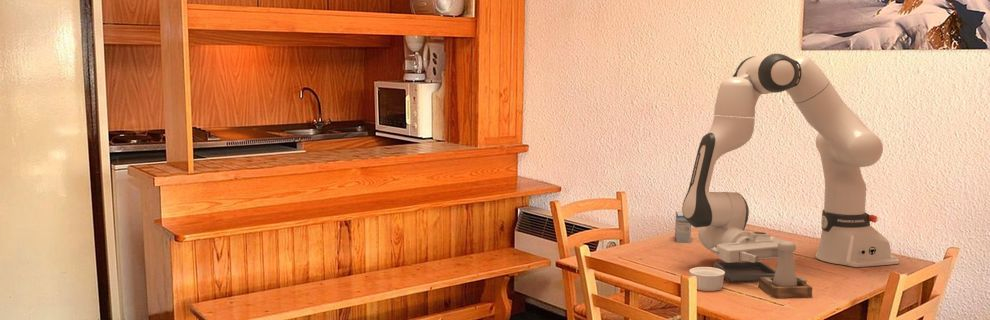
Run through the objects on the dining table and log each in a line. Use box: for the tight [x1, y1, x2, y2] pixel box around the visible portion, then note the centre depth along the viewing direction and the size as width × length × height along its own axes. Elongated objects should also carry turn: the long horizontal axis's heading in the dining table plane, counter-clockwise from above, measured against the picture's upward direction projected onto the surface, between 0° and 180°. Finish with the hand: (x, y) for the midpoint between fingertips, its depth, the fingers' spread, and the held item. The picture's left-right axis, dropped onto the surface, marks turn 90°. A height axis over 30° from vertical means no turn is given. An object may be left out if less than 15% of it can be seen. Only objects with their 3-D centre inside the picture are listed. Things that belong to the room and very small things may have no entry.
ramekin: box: [689, 266, 725, 292], centre depth 224 cm, size 9×9×4 cm
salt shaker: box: [773, 240, 797, 287], centre depth 219 cm, size 6×6×13 cm
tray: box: [713, 260, 776, 284], centre depth 235 cm, size 14×14×2 cm
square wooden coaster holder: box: [757, 276, 813, 299], centre depth 219 cm, size 10×10×3 cm
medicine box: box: [674, 210, 692, 244], centre depth 277 cm, size 8×4×9 cm, turn 172°
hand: (771, 257), depth 224 cm, fingers open, 8 cm apart
